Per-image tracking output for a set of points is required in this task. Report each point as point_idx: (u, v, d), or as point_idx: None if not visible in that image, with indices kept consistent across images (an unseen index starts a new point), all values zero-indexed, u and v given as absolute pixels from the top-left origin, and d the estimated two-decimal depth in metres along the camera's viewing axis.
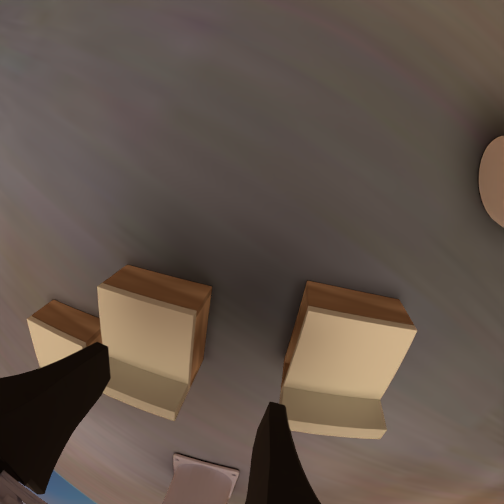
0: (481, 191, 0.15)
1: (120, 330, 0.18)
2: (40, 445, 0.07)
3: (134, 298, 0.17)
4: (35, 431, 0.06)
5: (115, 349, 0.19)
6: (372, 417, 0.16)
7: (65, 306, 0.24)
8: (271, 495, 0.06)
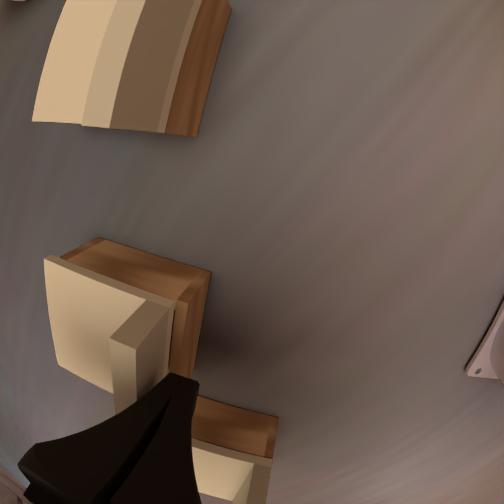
0: None
1: (94, 364, 0.13)
2: None
3: None
4: None
5: None
6: None
7: None
8: (144, 459, 0.06)
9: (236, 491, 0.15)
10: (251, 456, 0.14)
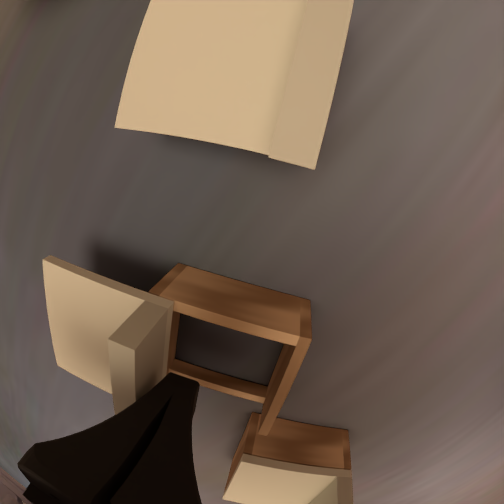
0: None
1: (93, 364, 0.13)
2: None
3: None
4: None
5: None
6: None
7: (236, 450, 0.19)
8: (144, 459, 0.06)
9: (307, 503, 0.15)
10: (333, 470, 0.14)
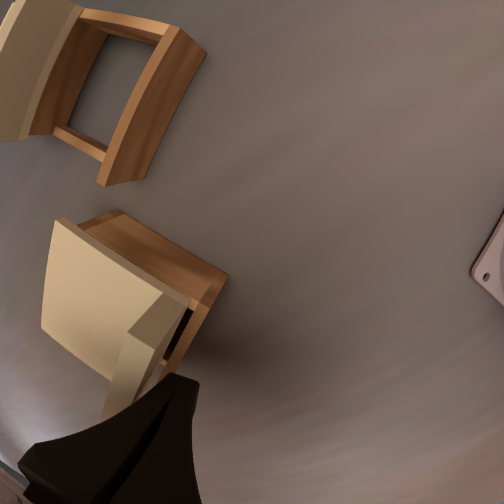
0: None
1: None
2: None
3: None
4: None
5: None
6: None
7: None
8: (144, 459, 0.06)
9: None
10: (162, 284, 0.11)
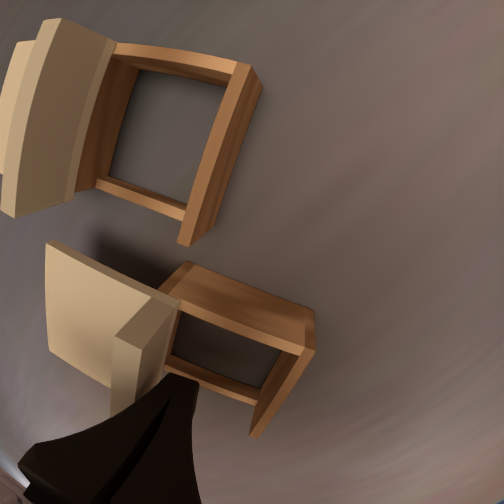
0: None
1: None
2: None
3: None
4: None
5: None
6: None
7: None
8: (144, 459, 0.06)
9: None
10: (151, 289, 0.11)
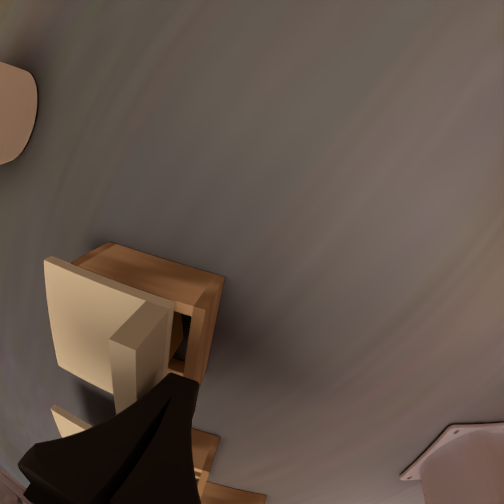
0: (13, 158, 0.14)
1: None
2: None
3: (61, 435, 0.17)
4: None
5: None
6: None
7: None
8: (144, 459, 0.06)
9: None
10: None
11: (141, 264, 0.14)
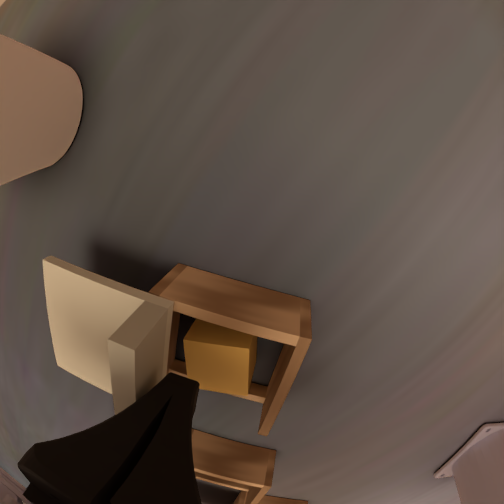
0: (51, 164, 0.14)
1: None
2: None
3: None
4: None
5: None
6: None
7: None
8: (144, 459, 0.06)
9: None
10: None
11: (226, 290, 0.13)
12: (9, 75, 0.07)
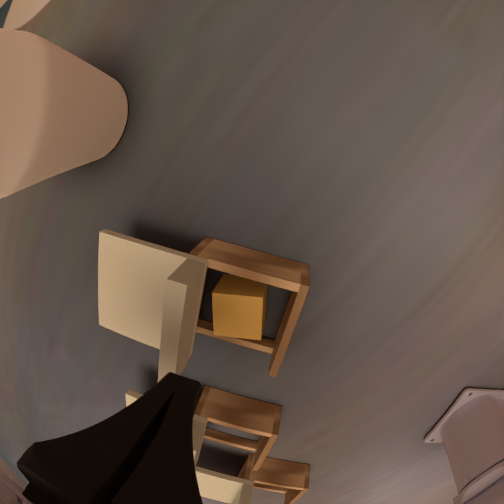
0: (98, 158, 0.19)
1: None
2: None
3: None
4: None
5: None
6: None
7: (239, 473, 0.28)
8: (145, 459, 0.06)
9: (233, 498, 0.24)
10: (241, 479, 0.23)
11: (245, 255, 0.18)
12: (82, 86, 0.12)
